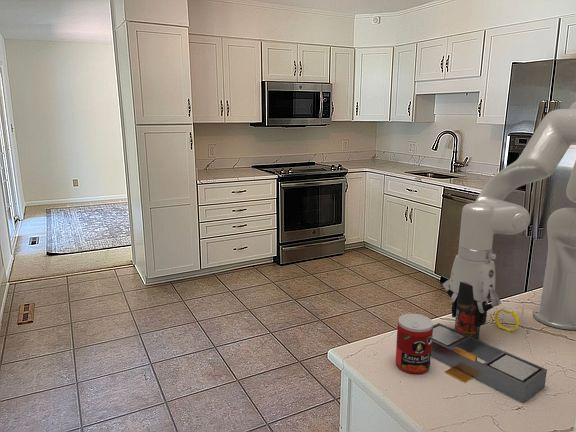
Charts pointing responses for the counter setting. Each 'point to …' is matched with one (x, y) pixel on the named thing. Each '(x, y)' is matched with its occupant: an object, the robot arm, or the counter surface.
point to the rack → (486, 364)
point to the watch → (510, 311)
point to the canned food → (414, 343)
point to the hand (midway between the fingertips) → (467, 319)
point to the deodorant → (466, 311)
